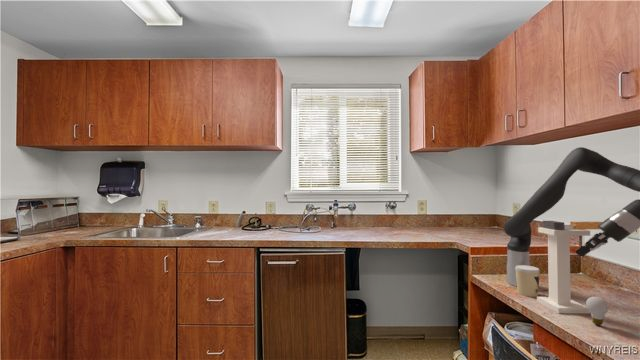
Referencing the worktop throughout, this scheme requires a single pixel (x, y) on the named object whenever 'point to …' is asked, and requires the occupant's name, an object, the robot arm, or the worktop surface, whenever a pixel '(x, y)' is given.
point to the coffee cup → (527, 280)
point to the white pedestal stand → (561, 271)
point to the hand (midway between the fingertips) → (578, 254)
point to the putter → (573, 225)
